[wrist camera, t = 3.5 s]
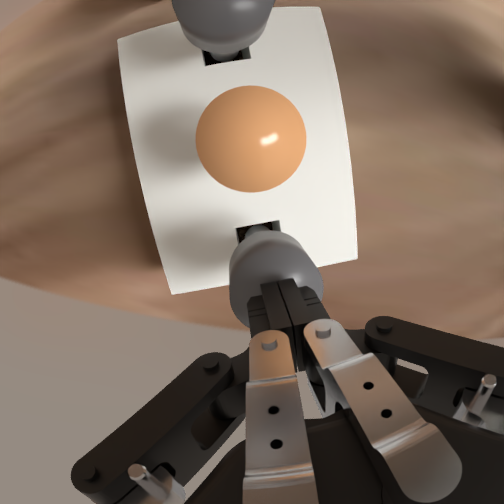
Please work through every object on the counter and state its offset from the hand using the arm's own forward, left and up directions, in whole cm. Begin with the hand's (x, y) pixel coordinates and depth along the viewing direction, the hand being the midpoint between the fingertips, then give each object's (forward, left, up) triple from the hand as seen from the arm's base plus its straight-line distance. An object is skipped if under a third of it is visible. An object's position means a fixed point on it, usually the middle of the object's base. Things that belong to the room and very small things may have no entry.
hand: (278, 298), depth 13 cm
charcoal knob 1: (0, -14, -9) cm, 17 cm away
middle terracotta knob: (0, -7, -9) cm, 11 cm away
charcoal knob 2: (0, 0, -9) cm, 9 cm away
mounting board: (0, -7, -12) cm, 14 cm away
